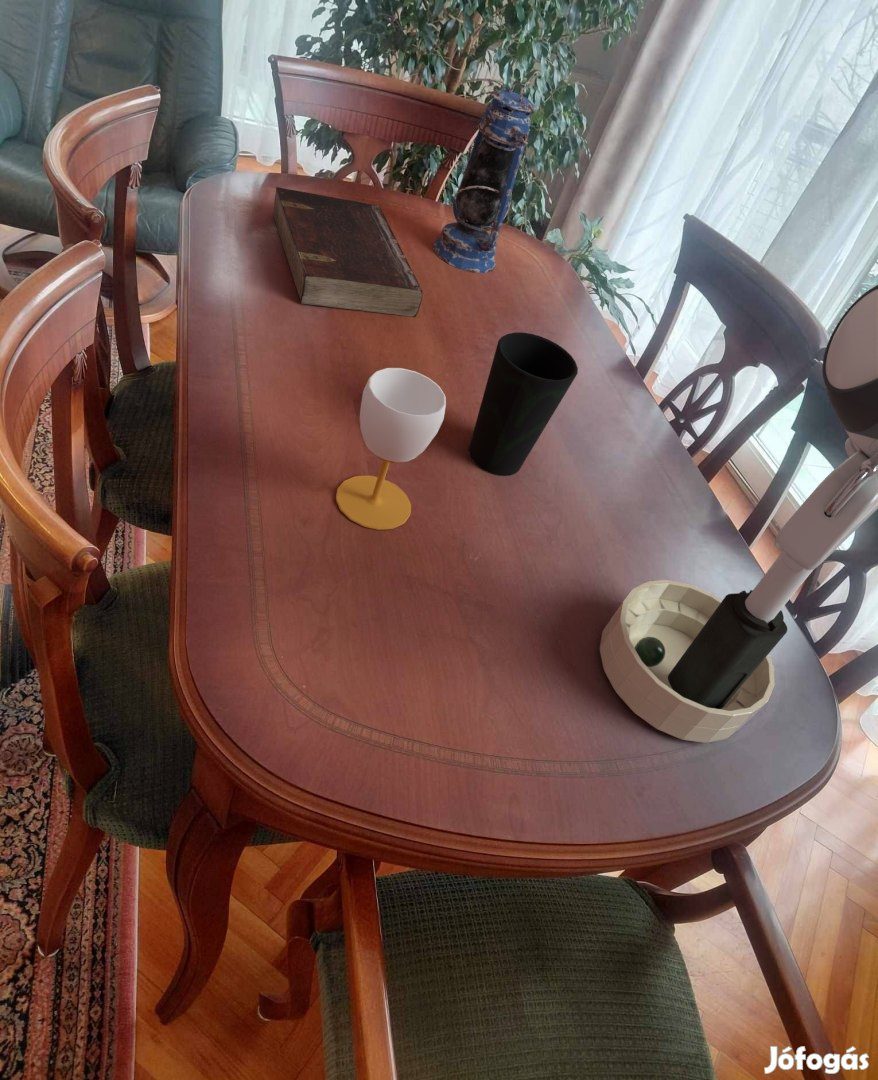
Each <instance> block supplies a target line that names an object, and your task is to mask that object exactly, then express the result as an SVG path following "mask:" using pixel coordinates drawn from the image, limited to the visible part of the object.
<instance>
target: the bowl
mask: <svg viewBox="0 0 878 1080" xmlns="http://www.w3.org/2000/svg"><path fill="white" fill-rule="evenodd" d="M722 601H723V599H721V598H719V597H718V596H716V595H715V594H713V593H711V592H709V591H707V590H705V589H702V588H700V587H697V586H695V585H692V584H690V583H686V582H681V581H675V580H671V579H660V580H648V581H645V582H643V583H641V584H640V585H637V586H635V587H634V588H632V589H631V590H630V592H629V593H628V594H627V595H626V596H625V597H624V599H623V600H622V602H621V603H620V605H619V606H618V607H617V609H616V611H615V613H614V614H613V615H612V617H610V619H609V621H608V622H607V624H606V626H605V627H604V628H603V630H602V631H601V638H600V644H599V653H600V659H601V663H602V668H603V671H604V673H605V675H606V677H607V679H608V680H609V683H610V684H611V686H612V688H613V690H614V691H615V693H616V694H617V696H619V698H620V699H621V700H622V701H623V702H624V703H625V704H626V706H628V708H629V709H630V710H631V711H632V712H633V713H634V714H635V715H636V716H638V717H640V718H641V719H642V720H644V721H645V722H646V723H647V724H649V725H650V726H652V727H653V728H654V729H656V730H658V731H660V732H663V733H665V734H667V735H670V736H672V737H675V738H677V739H680V740H682V741H690V742H695V743H703V744H708V743H714V742H718V741H724V740H727V739H728V738H730V737H731V736H733V734H735V733H736V732H738V731H739V730H740V729H742V727H744V725H745V724H747V722H749V720H751V719H752V718H753V717H754V716H755V715H756V714H757V713H758V712H759V711H760V710H761V709H762V708H763V707H764V706H765V705H766V704H767V703H768V702H769V700H770V697H771V696H772V693H773V691H774V688H775V667H774V663H773V661H772V658H771V655H770V653H769V654H768V655H767V656H766V657H765V659H764V660H763V661H762V662H761V663H760V665H759V666H758V667H757V668H756V669H755V670H754V672H753V673H752V674H751V675H750V676H749V678H748V679H747V680H746V681H745V682H744V683H743V685H742V686H741V687H740V688H739V689H738V691H737V692H736V693H735V694H734V695H733V696H732V698H731V699H730V700H729V701H728V702H727V704H726V705H725V706H724V707H723V708H722V709H715V708H709V707H705V706H703V705H701V704H698V703H696V702H694V701H691V700H689V699H687V698H684V697H682V696H681V695H679V694H678V693H677V692H675V691H674V690H673V689H672V687H671V685H670V683H669V681H668V675H669V674H670V672H671V671H672V669H673V668H674V667H675V665H676V664H677V663H678V661H679V660H680V658H681V657H682V656H683V654H684V653H685V652H686V650H687V649H688V647H689V646H690V645H691V643H692V642H693V640H694V639H695V638H696V636H697V635H698V634H699V632H700V631H701V629H702V628H703V627H704V625H705V624H706V623H707V621H708V620H709V618H710V617H711V616H712V614H713V613H714V612H715V610H716V609H717V607H718V606H719V605H720V603H721V602H722ZM644 637H654V638H657V639H658V640H660V641H661V642H662V643H663V645H664V647H665V657H664V659H663V661H662V662H661V663H660V664H659V665H657V666H654V667H647V666H646V665H645V664H644V663H643V662H642V661H641V659H640V657H639V655H638V654H637V652H636V650H635V646H636V644H637V642H638V641H639V640H641V639H642V638H644Z"/></svg>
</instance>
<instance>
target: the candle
mask: <svg viewBox="0 0 878 1080" xmlns="http://www.w3.org/2000/svg"><path fill="white" fill-rule="evenodd" d="M785 555H786V554H784V553H783V552H782V551H781V553H780V554H779V555H778V556H777V558H776V559H775V561H774V562H773V563H772V564H771V566H770V567H769V568H768V570H767V571H766V572H765V574H764V575H763V577H762V578H761V579H760V580H759V581H758V583H757V584H756V585H755V587H754V588H753V589H751V590H749V591H748V592H747V591H746V590H741V591H740V592H737V593H735V592H734V593H728V594H726V595H725V596H724V598H723V599H722V602H721V603H720V605H719V606H718V607H717V609H716V610H715V612H714V613H713V614H712V616H711V617H710V618H709V620H708V621H707V623H706V624H705V625H704V627H703V628H702V629H701V631H700V632H699V634H698V635H697V636H696V638H695V639H694V640H693V642H692V643H691V645H690V646H689V647H688V649H687V650H686V652H685V653H684V654H683V656H682V657H681V658H680V660H679V661H678V663H677V664H676V665H675V667H674V668H673V669H672V671H671V672H670V674H669V675H668V681H669V683H670V685H671V687H672V689H673V690H674V691H675V692H677V693H678V694H679V695H681V696H682V697H684V698H687V699H689V700H691V701H694V702H696V703H698V704H701V705H703V706H705V707H709V708H715V709H722V708H723V707H724V706H725V705H726V704H727V702H728V701H729V700H730V699H731V698H732V696H733V695H734V694H735V693H736V692H737V691H738V689H739V688H740V687H741V686H742V685H743V683H744V682H745V681H746V680H747V679H748V678H749V676H750V675H751V674H752V673H753V672H754V670H755V669H756V668H757V667H758V666H759V665H760V663H761V662H762V661H763V660H764V659H765V657H766V656H767V655H768V654H769V655H770V653H771V652H772V651H773V650H774V648H775V647H776V646H777V645H778V643H779V642H780V641H781V640H782V639H783V637H784V636H785V635H787V632H788V625H787V623H786V622H785V621H784V620H785V619H784V618H785V617H784V613H783V610H782V609H783V608H784V607H785V606H786V604H787V603H788V602H789V600H791V598H792V597H793V596H794V594H795V593H796V592H797V591H798V589H800V587H801V586H802V585H803V583H804V582H805V581H806V580H807V578H808V577H809V576H810V575H811V574H812V572H813V571H814V570H815V569H813V570H807V569H805V568H804V569H803V570H802V571H801V572H794V571H793V570H791V569H790V568H789V567H788V566H786V565H785V564H784V563H783V561H782V560H783V557H784V556H785Z"/></svg>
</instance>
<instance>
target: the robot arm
mask: <svg viewBox="0 0 878 1080" xmlns="http://www.w3.org/2000/svg"><path fill="white" fill-rule="evenodd" d="M821 371H822V378H823V383H824V387H825V391H826V394H827V396H828V400H829V402H830V403H829V404H830V405H831V407H832V410H833V412H834V413H835V416H836V418H837V419H838V421H839V423H840V425H841V427H842V428H843V429H844V430H845V432H846V434H847V436H848V438H847V439H846V441H845V443H844V449H845V452H846V455H847V456H848V458H847V459H845V460H844V461H842V463H841V464H839V465H837V466H836V467H835V468H834V469H833V470H832V471H831V472H829V474H828V475H827V476H826V477H825V478H824V479H823V480H822V481H821V482H820V483H819V484H818V485H817V487H815V489H814V490H813V491H812V492H811V493H810V495H809V496H808V497H807V498H806V499H805V500H804V501H803V502H802V504H801V505H799V507H798V509H797V510H796V511H794V513H793V514H792V516H791V517H790V518H789V519H788V521H786V522H785V524H784V525H783V526H782V527H781V529H780V530H779V531H778V533H777V535H776V536H775V539H774V546H775V547H776V548H777V549H778V550H779V551H780V552H781V553H782V552H783V553H784V554H786V555H785V556H784V557H783V560H782V561H783V563H784V564H785V565H786V566H788V567H789V568H790V569H791V570H793V571H794V572H801V571H802V570H803V569H804V568H805V569H807V570H813V569H814V570H815V569H817V568H818V567H819V566H820V565H821V564H822V563H824V562H825V560H827V559H828V558H829V556H831V554H833V553H834V552H835V551H837V549H838V548H839V547H840V546H841V545H842V544H843V543H844V542H845V541H846V540H847V539H848V538H849V537H850V536H852V535H853V533H854V532H855V531H857V529H859V527H861V526H862V525H863V524H864V523H866V522H865V521H867V520H868V519H869V518H870V517H871V516H872V515H873V514H874V513H875V512H876V511H877V510H878V284H876V285H875V286H873V287H871V288H870V289H868V290H866V291H865V292H864V293H863V294H861V295H860V296H859V297H858V298H857V299H856V300H855V301H854V302H853V303H852V304H851V305H850V306H849V308H848V309H846V312H844V313H843V315H842V316H841V317H840V319H839V321H838V322H837V324H836V325H835V327H834V329H833V331H832V333H831V335H830V338H829V340H828V341H827V344H826V347H825V350H824V355H823V359H822V369H821ZM814 570H813V571H814Z"/></svg>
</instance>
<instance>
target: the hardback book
mask: <svg viewBox="0 0 878 1080" xmlns="http://www.w3.org/2000/svg"><path fill="white" fill-rule="evenodd" d="M272 215H273V218H274V221H275V225H276V229H277V231H278V234H279V238H280V240H281V244H282V248H283V250H284V253H285V256H286V260H287V262H288V265H289V269H290V272H291V275H292V278H293V281H294V284H295V288H296V291H297V295H298V297H299V300H300V303H301V304H304V305H313V306H320V307H329V308H337V309H346V310H354V311H361V312H368V313H369V312H370V313H371V312H372V313H378V314H387V315H396V316H403V317H410V318H411V317H412V318H416V317H417V315H418V313H419V311H420V309H421V308H420V307H421V304H422V300H423V293H424V291H423V289H422V287H421V284H420V283H419V281H418V279H417V277H416V275H415V273H414V272H413V269H412V267H411V265H410V264H409V262H408V259H407V258H406V255H405V254H404V251H403V249H402V248H401V245H400V244H399V242H398V240H397V237H396V236H395V233H394V231H393V230H392V228H391V225H390V224H389V222H388V220H387V218H386V216H385V214H384V212H383V210H382V208H381V205H379V204H372V203H367V202H361V201H356V200H350V199H345V198H339V197H334V196H328V195H323V194H317V193H313V192H306V191H301V190H295V189H289V188H283V187H279V186H276V187H275V194H274V202H273V209H272Z"/></svg>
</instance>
